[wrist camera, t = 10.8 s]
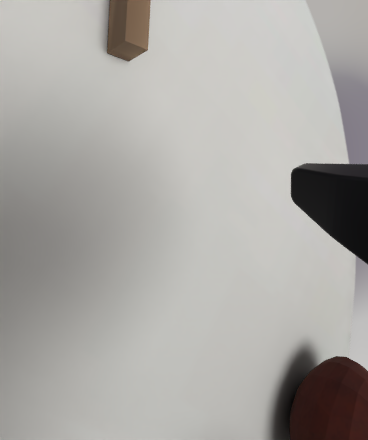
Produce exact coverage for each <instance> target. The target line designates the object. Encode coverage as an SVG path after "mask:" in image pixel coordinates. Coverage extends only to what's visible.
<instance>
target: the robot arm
mask: <svg viewBox="0 0 368 440" xmlns="http://www.w3.org/2000/svg"><path fill="white" fill-rule="evenodd" d="M291 197H292V200H293V201H294V203H295V204H296V205H297V206H298V207H299V208H300V209H302V210H303V211H304V212H305V213H306V214H307V215H308V216H309V217H310V218H311V219H312V220H314V221H315V222H316V223H317V224H318V225H319V226H320V227H321V228H322V229H323V230H324V231H325V232H327V233H328V234H329V235H330V236H331V237H332V238H334V239H335V240H336V241H337V242H339V243H340V244H341V245H343V246H344V247H345V248H347V249H348V250H349V251H351V252H352V253H353V254H355V255H356V256H357V257H359V258H360V259H361V260H363V261H364V262H365V263H367V264H368V164H311V163H306V164H303V165H300V166H298V167H296V168H294V169H293V170H292V173H291Z"/></svg>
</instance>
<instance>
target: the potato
mask: <svg viewBox="0 0 368 440" xmlns="http://www.w3.org/2000/svg"><path fill="white" fill-rule="evenodd" d="M289 430H290V440H368V371H367V370H366V369H365V368H364V367H363V366H361V365H360V364H358V363H357V362H355V361H353V360H351V359H349V358H347V357H338V356H336V357H333V358H331V359H328V360H325V361H324V362H322V363H321V364H319V365H318V366H317V367H315V368H314V369H313V370H311V371H310V372H309V374H308V375H307V376H306V378H305V379H304V380H303V382H302V383H301V384H300V386H299V387H298V389H297V392H296V395H295V398H294V402H293V405H292V408H291V411H290V427H289Z"/></svg>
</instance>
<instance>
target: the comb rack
mask: <svg viewBox="0 0 368 440" xmlns="http://www.w3.org/2000/svg"><path fill="white" fill-rule="evenodd" d="M149 19H150V0H110V10H109V29H108V49H107V53H108V54H111V55H114V56H116V57H119V58H122V59H124V60H127V61H130V60H132V59H133V58H135V57H137V56H139V55H140V54H142V53H144V52H145V51H147V50H148V37H149Z"/></svg>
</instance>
